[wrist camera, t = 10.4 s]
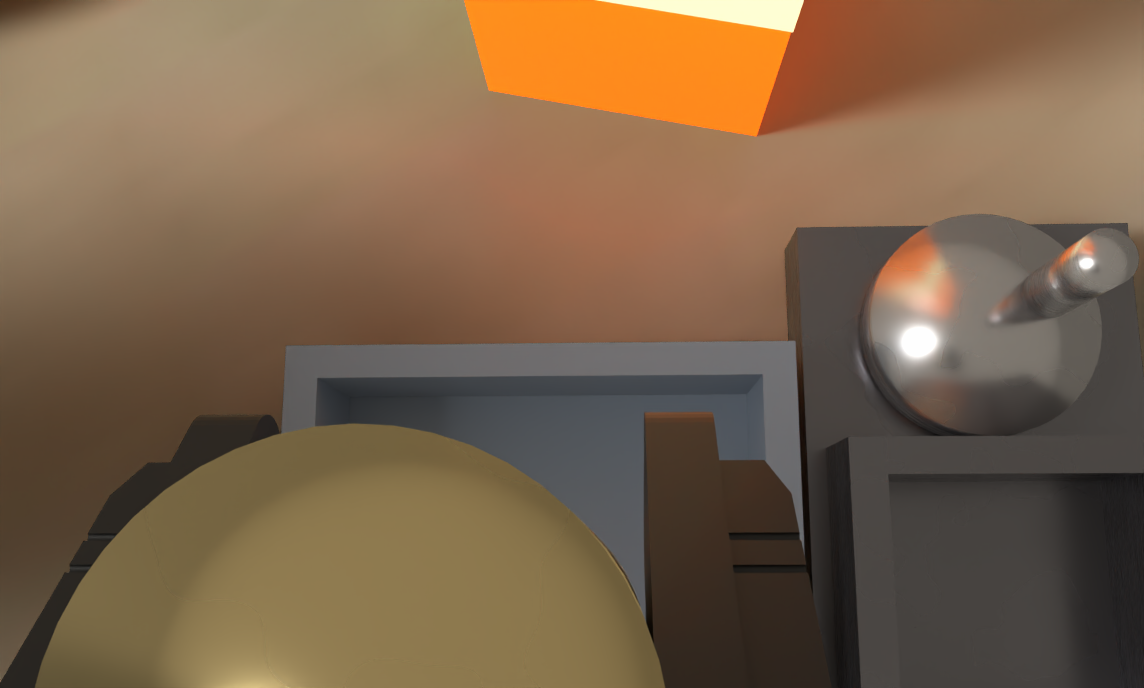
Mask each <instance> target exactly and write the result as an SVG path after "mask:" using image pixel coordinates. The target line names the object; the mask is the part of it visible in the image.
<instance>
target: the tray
mask: <svg viewBox="0 0 1144 688" xmlns="http://www.w3.org/2000/svg"><path fill="white" fill-rule="evenodd" d="M644 412H712V413H713V416H714V422H715V430H716V438H717V446H718V453H719V460H765V461H766V463H767V464H768V465H769V466H770V467H771V469H772V470H773V471H774V472H775V474H776V475H777V476H778V477H779V479H780V480H781V481H782V482H783V483H784V485H785V486H786V487H787V488H788V490H789V491H790V492H791V493H792V498H793V503H794V507H795V512H796V517H797V522H798V527H799V532H800V540H801V541H802V546H803V551H804V530H803V507H802V483H801V459H800V436H799V412H798V389H797V365H796V342H795V341H728V342H618V343H509V344H399V345H290V346H286V355H285V374H284V393H283V413H282V432H281V434H282V433H287V432H291V431H296V430H301V429H305V428H310V427H316V426H328V425H341V424H353V423H356V424H375V425H394V426H400V427H405V428H410V429H416V430H421V431H426V432H432V433H436V434H439V435H442V436H445V437H448V438H451V439H454V440H457V441H460V442H463V443H466V444H469V445H472V446H474V447H476V448H478V449H480V450H482V451H484V452H486V453H488V454H491V455H493V456H495V457H497V458H499V459H501V460H503V461H505V462H507V463H509V464H510V465H512V466H513V467H515V468H516V469H518V470H519V471H521V472H522V473H524V474H525V475H527V476H528V477H530V478H531V479H533V480H535V481H536V482H538V483H539V484H541V485H542V486H543V487H544V488H546V489H547V490H548V491H549V492H550V493H551V494H552V495H554V496H555V497H556V498H557V499H558V500H559V501H560V502H562V503H563V504H564V505H565V506H566V507H567V508H569V509H570V510H571V511H572V512H573V513H574V514H575V515H576V516H577V517H578V518H579V519H580V520H581V521H582V522H583V523H584V524H585V525H586V526H587V527H589V528H590V529H591V530H592V531H593V532H594V533H595V534H596V535H597V536H598V537H599V538H600V539H601V540H602V541H603V543H604V544H605V545H606V546H607V547H608V548H609V549H610V550H611V552H612V553H613V554H614V555H615V557H616V558H617V560H618V561H619V563H620V564H621V566H622V567H623V569H624V570H625V572H626V574H627V576H628V578H629V580H630V582H631V584H632V586H633V588H634V590H635V593H636V596H637V599H638V602H639V604H640V607H641V610H642V613H643V616H644V618H645V621H646V609H645V577H644ZM804 556H805V554H804Z"/></svg>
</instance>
